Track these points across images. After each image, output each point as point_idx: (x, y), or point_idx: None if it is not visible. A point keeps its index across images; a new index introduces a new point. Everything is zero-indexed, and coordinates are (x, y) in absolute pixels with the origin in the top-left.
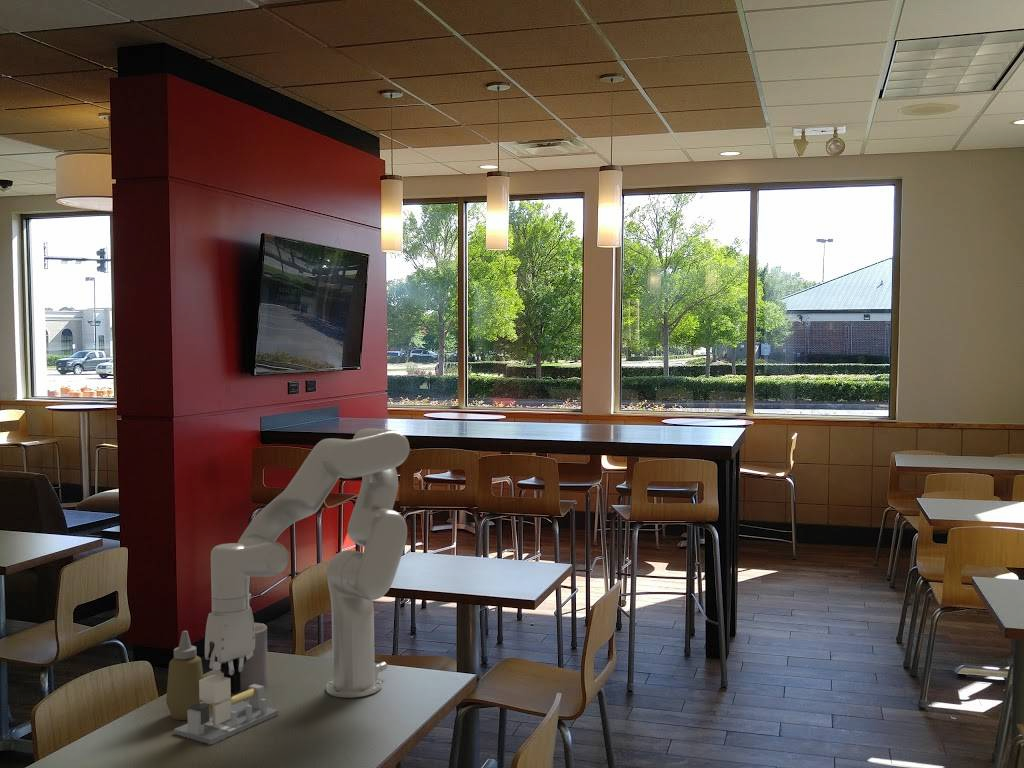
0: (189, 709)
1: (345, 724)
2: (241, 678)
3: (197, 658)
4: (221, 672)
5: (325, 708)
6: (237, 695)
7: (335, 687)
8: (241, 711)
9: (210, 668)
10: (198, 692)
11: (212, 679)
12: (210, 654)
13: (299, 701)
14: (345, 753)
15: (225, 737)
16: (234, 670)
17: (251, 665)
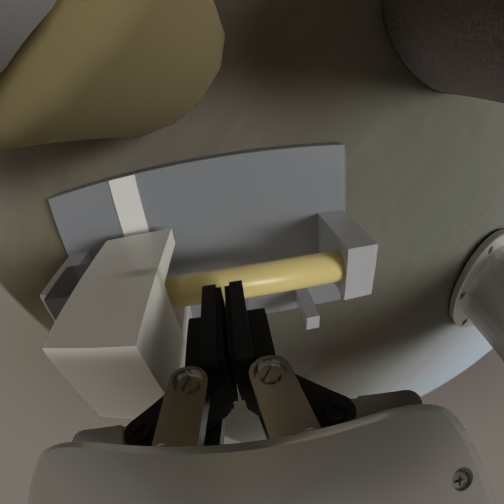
0: (45, 294)
1: (347, 391)
2: (433, 54)
3: (61, 55)
4: (174, 373)
5: (401, 324)
6: (251, 293)
7: (474, 280)
8: (274, 229)
9: (80, 437)
10: (133, 133)
11: (102, 385)
12: (77, 473)
13: (422, 253)
14: (262, 439)
15: None
16: (245, 400)
17: (488, 86)
